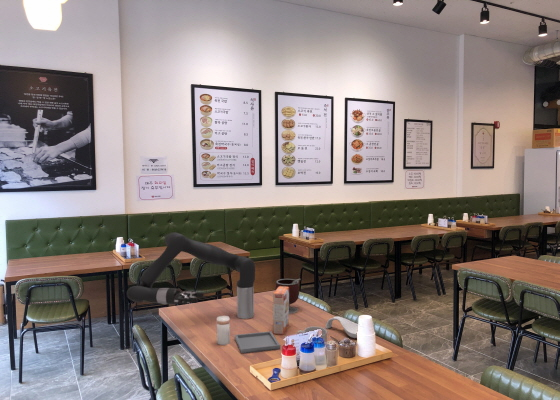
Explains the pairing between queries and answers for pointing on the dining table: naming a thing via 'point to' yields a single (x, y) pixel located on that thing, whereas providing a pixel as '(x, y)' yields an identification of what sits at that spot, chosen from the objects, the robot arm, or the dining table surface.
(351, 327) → the spoon rest
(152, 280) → the robot arm
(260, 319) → the dining table surface
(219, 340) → the salt shaker
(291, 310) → the mate gourd
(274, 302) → the cracker box
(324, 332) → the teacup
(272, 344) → the tray
